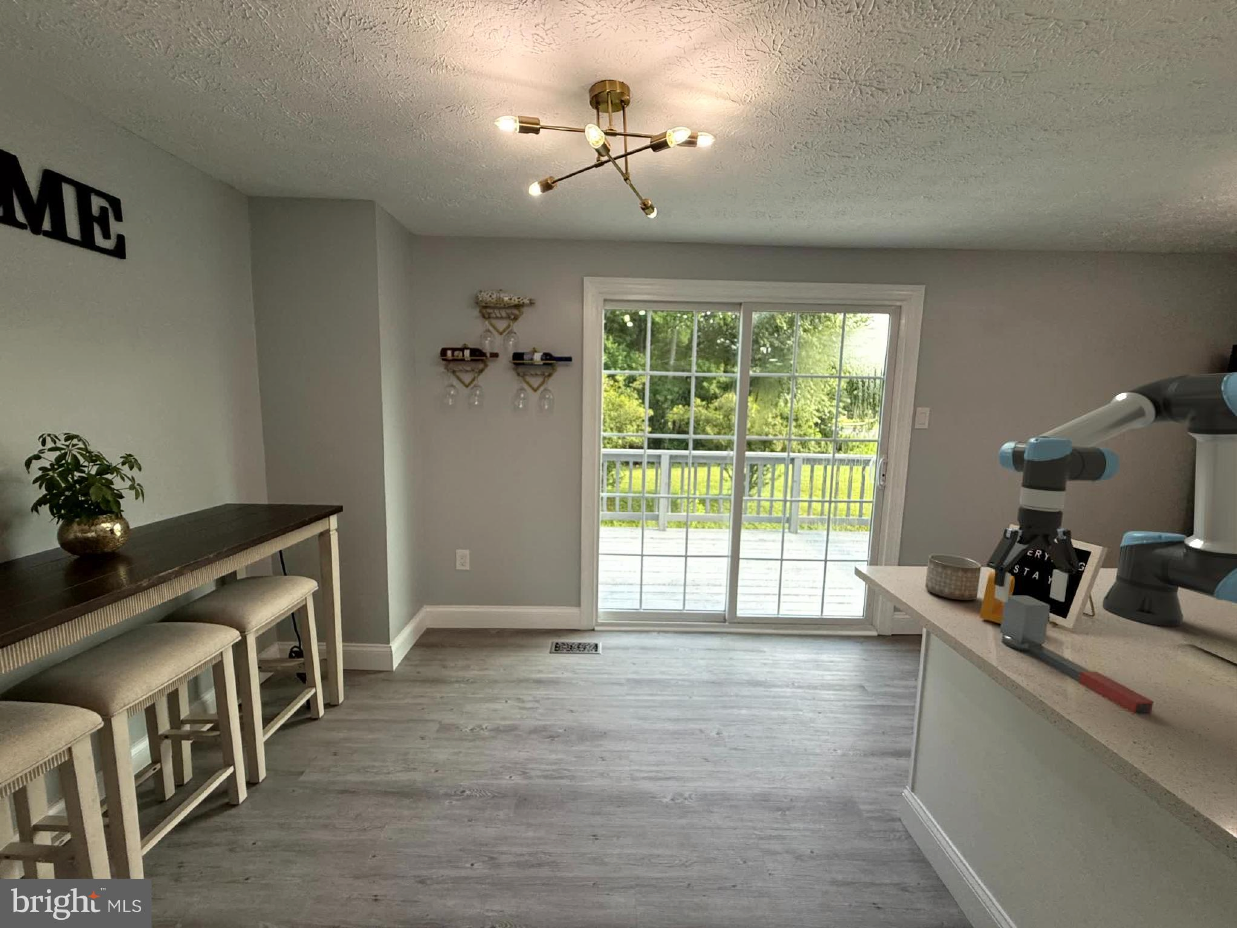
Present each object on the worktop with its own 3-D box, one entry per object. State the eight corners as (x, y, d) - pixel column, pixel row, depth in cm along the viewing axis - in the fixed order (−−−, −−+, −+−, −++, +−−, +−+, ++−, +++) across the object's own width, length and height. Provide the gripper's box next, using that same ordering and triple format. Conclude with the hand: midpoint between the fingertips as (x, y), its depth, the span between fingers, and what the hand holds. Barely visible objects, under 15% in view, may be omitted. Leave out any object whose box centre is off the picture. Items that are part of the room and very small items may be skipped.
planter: (987, 604, 138) (992, 568, 137) (941, 602, 139) (946, 566, 137) (957, 587, 151) (961, 554, 150) (915, 586, 151) (919, 553, 150)
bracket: (1014, 630, 122) (1021, 584, 120) (979, 620, 127) (985, 575, 126) (1024, 619, 129) (1030, 575, 127) (990, 610, 134) (996, 567, 133)
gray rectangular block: (1022, 632, 116) (1027, 595, 115) (1044, 643, 111) (1050, 605, 110) (1000, 632, 116) (1005, 595, 115) (1020, 643, 110) (1026, 605, 109)
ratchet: (993, 638, 117) (997, 612, 116) (1021, 639, 117) (1025, 612, 117) (1124, 713, 89) (1130, 679, 88) (1160, 713, 89) (1166, 679, 88)
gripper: (1076, 504, 114) (1064, 592, 117) (974, 503, 112) (964, 593, 115) (1110, 511, 107) (1096, 605, 109) (1001, 511, 105) (990, 606, 108)
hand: (1028, 599), depth 112 cm, fingers open, 13 cm apart
